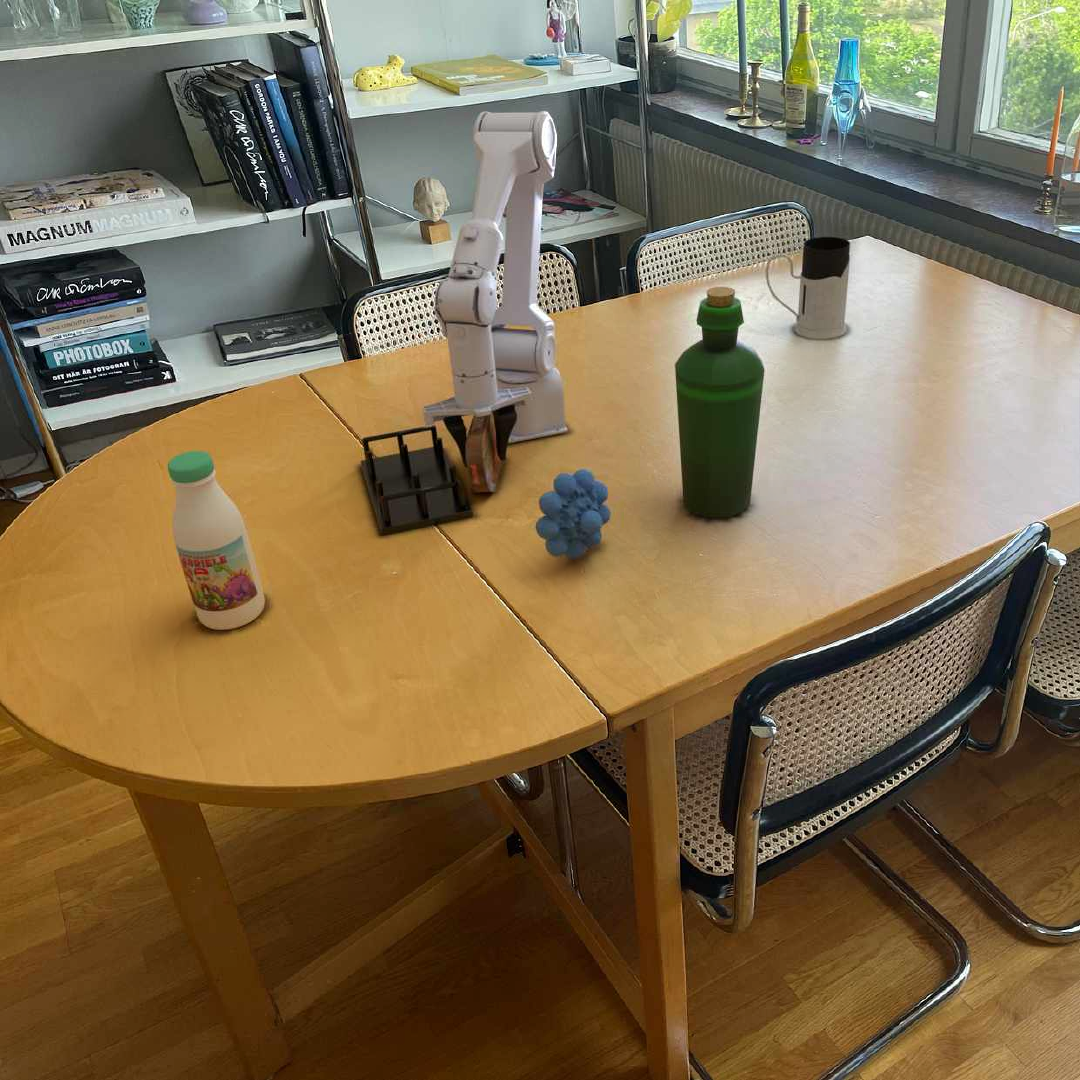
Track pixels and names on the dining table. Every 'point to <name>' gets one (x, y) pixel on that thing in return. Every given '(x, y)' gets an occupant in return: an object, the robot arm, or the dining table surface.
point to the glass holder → (821, 287)
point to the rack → (413, 485)
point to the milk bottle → (213, 546)
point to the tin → (482, 454)
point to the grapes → (573, 514)
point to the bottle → (718, 410)
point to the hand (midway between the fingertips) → (483, 460)
